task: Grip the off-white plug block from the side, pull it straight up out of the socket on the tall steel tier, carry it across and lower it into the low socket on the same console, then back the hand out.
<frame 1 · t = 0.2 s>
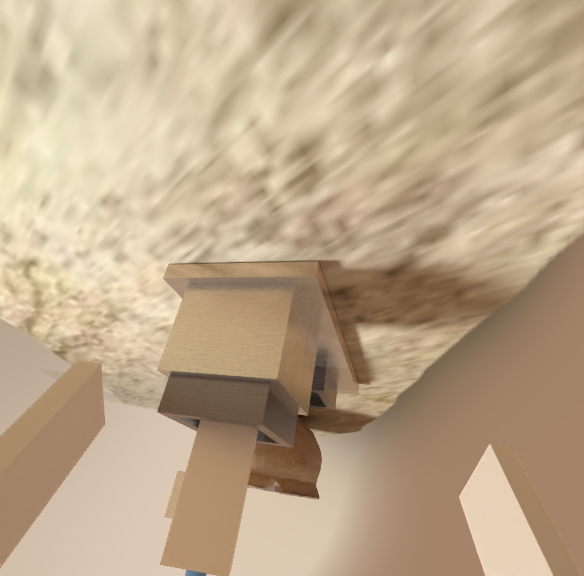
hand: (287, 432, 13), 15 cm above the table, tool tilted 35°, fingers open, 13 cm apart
plug: (238, 394, 32), point 9 cm above the table, touching console
console: (285, 337, 44), on the table
ceramic bowl: (275, 411, 79), on the table
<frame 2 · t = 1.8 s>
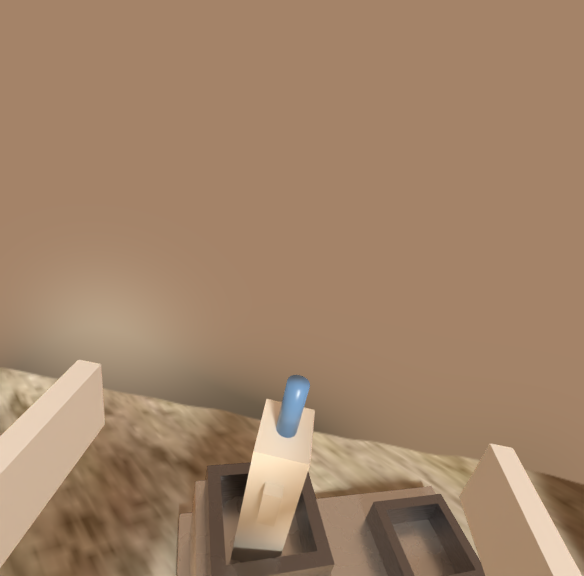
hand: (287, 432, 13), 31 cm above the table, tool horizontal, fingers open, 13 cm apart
plug: (259, 533, 30), point 9 cm above the table, touching console
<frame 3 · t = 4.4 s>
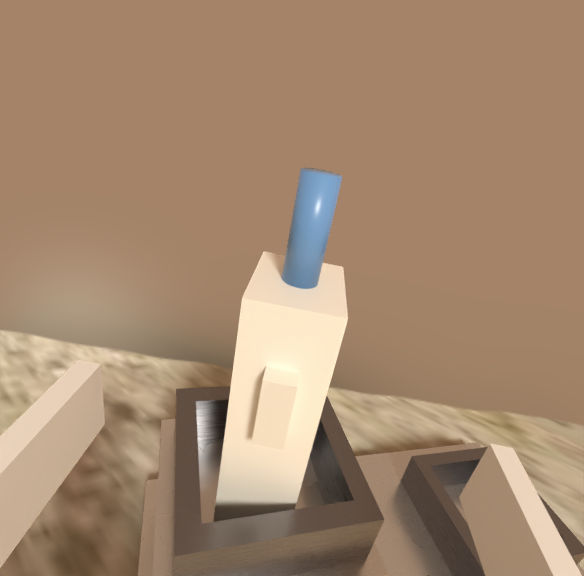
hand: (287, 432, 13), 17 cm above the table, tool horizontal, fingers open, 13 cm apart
plug: (258, 486, 19), point 9 cm above the table, touching console
console: (366, 558, 26), on the table
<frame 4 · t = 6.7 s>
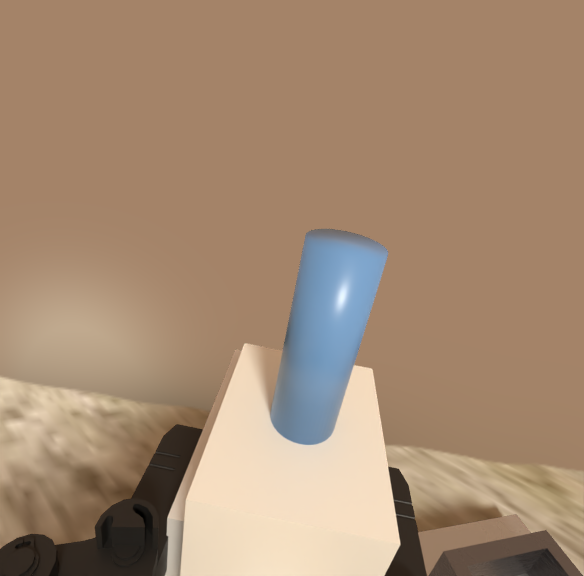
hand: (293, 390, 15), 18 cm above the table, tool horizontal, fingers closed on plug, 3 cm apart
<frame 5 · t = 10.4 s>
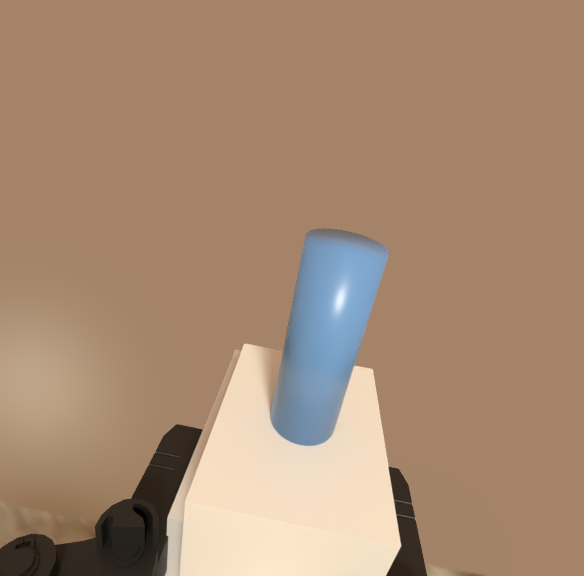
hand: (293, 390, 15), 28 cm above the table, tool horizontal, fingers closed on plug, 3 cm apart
when the fingers open (11 cm above the table, at t = 14.3 s): plug drops 1 cm, resting on console.
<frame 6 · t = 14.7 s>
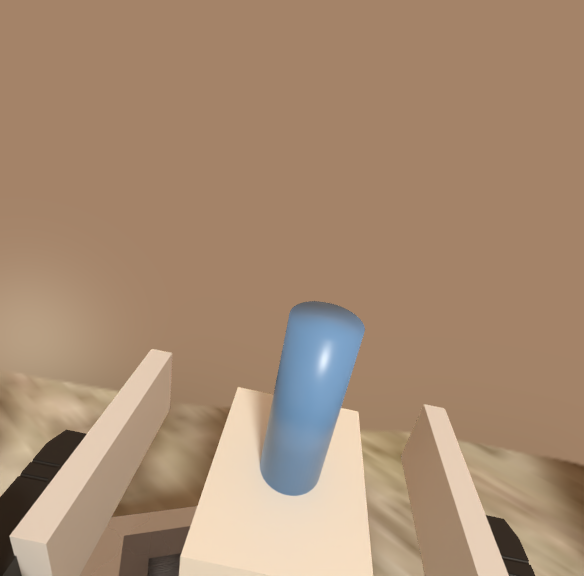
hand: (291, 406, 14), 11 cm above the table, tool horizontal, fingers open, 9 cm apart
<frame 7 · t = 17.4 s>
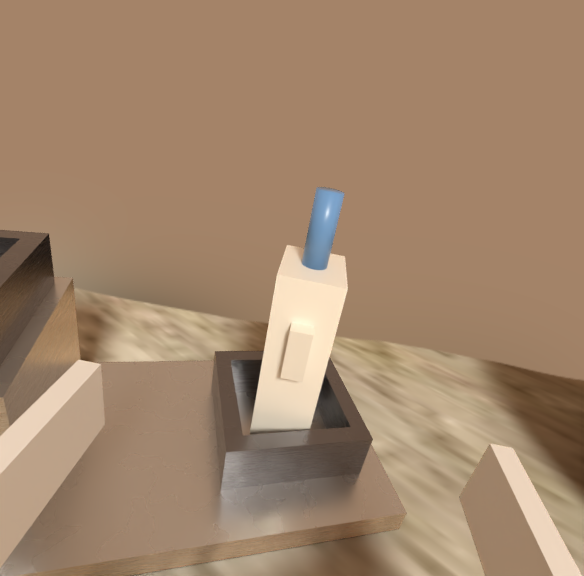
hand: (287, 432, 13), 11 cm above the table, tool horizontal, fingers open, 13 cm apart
plug: (279, 425, 25), point 1 cm above the table, touching console
console: (136, 451, 23), on the table
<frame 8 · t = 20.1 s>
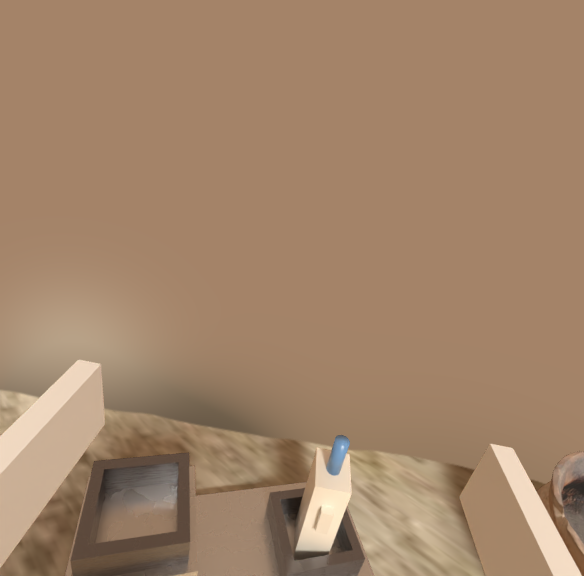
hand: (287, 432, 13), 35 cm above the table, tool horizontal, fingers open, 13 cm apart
plug: (309, 540, 42), point 1 cm above the table, touching console
console: (228, 561, 40), on the table
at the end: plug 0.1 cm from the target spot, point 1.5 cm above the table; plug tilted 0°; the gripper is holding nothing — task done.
